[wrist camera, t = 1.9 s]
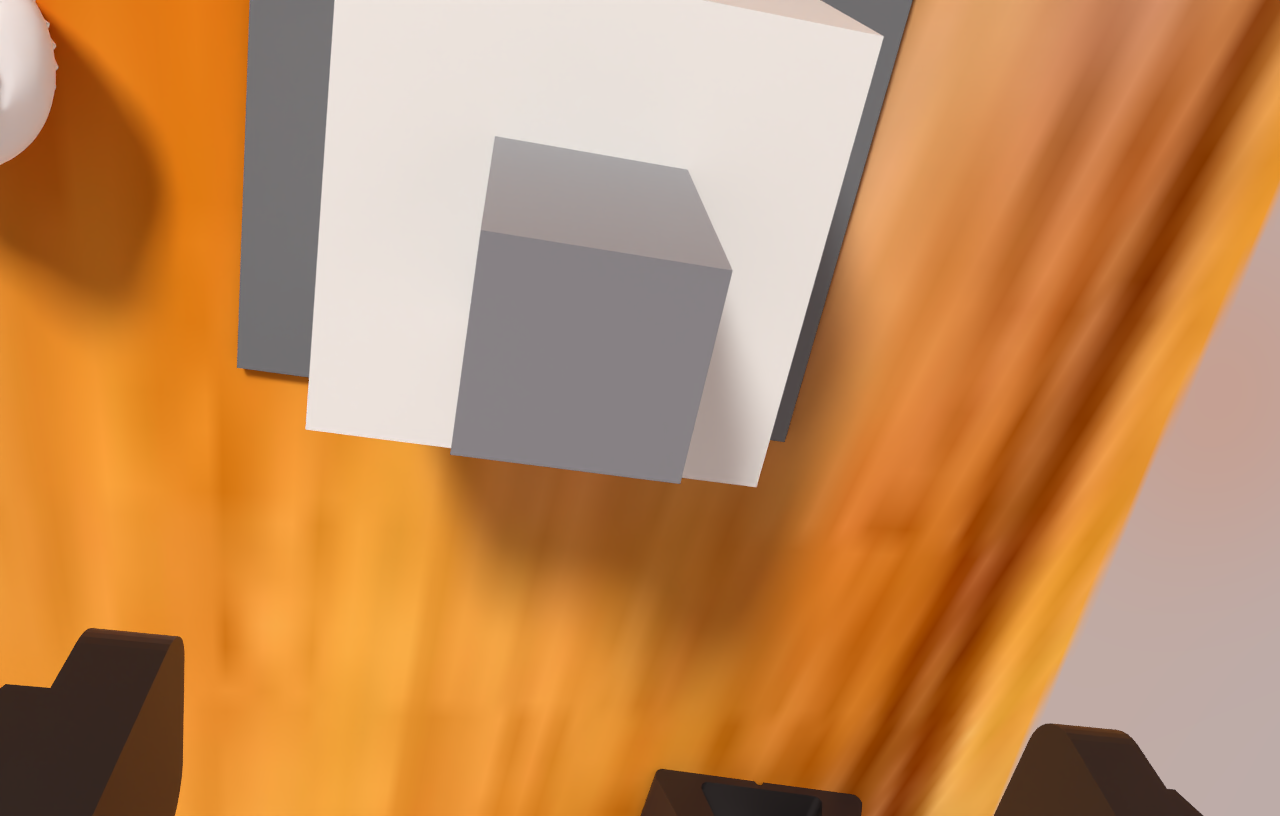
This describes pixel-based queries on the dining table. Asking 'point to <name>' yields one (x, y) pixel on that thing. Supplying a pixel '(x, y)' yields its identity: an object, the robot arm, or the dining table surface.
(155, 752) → the robot arm
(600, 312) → the cover
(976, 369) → the dining table surface
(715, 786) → the phone stand
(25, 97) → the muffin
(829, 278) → the mat
